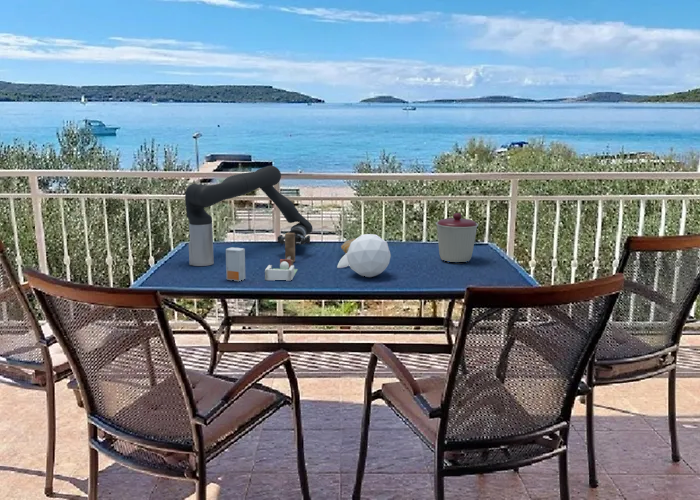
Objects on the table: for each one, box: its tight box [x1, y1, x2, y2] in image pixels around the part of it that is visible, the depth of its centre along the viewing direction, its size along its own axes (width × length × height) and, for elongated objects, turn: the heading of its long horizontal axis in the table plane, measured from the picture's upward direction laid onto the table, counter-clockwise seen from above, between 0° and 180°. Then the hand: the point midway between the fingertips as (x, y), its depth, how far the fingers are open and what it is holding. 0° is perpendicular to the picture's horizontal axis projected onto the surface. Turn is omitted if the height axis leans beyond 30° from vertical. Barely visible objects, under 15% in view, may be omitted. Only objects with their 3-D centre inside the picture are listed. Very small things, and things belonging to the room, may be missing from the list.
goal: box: [264, 264, 295, 282], centre depth 228 cm, size 10×8×4 cm
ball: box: [279, 261, 289, 270], centre depth 239 cm, size 4×4×4 cm
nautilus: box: [340, 237, 356, 254], centre depth 267 cm, size 8×22×15 cm
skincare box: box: [225, 247, 246, 282], centre depth 224 cm, size 6×4×12 cm
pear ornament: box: [336, 233, 392, 278], centre depth 237 cm, size 16×22×28 cm
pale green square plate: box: [272, 267, 299, 276], centre depth 237 cm, size 10×9×1 cm
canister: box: [435, 212, 479, 263], centre depth 257 cm, size 18×18×21 cm
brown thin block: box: [279, 232, 296, 269], centre depth 248 cm, size 4×15×12 cm, turn 177°
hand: (291, 242), depth 259 cm, fingers open, 8 cm apart
